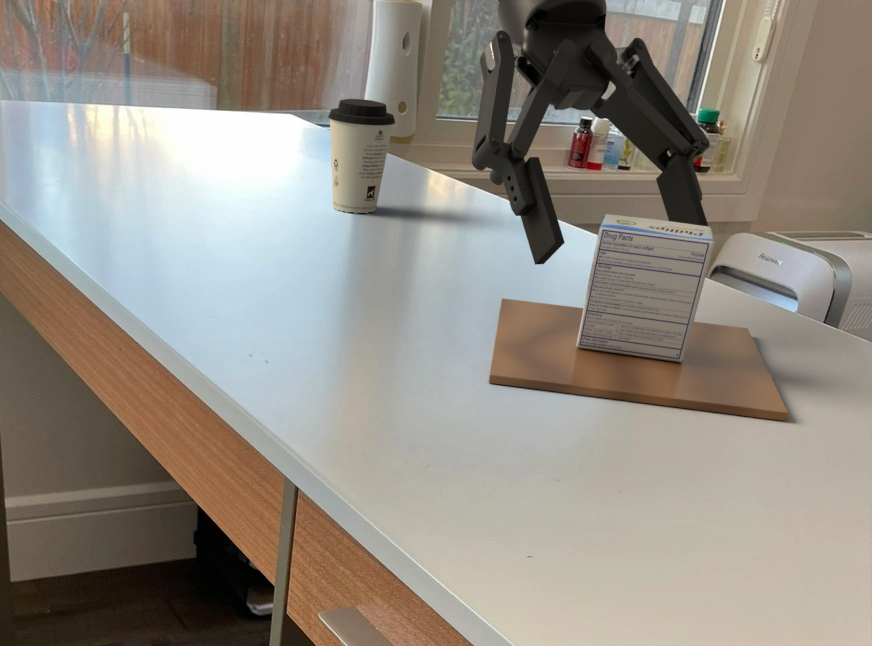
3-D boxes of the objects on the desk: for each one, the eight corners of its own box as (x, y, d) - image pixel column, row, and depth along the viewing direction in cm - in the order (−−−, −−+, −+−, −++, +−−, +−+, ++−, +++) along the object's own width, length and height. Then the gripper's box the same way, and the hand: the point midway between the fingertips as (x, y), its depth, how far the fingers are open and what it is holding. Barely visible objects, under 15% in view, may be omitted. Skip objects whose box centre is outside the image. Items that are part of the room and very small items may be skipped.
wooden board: (745, 335, 91) (747, 327, 90) (786, 421, 74) (788, 412, 74) (500, 305, 92) (501, 298, 92) (488, 383, 76) (489, 374, 76)
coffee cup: (391, 218, 117) (401, 110, 111) (324, 214, 116) (332, 105, 110) (382, 203, 122) (392, 100, 116) (319, 199, 121) (325, 95, 116)
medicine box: (682, 348, 84) (714, 226, 79) (683, 365, 81) (716, 239, 76) (578, 332, 86) (602, 211, 80) (574, 349, 82) (599, 223, 77)
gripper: (642, 31, 92) (718, 270, 90) (377, 17, 82) (456, 286, 80) (704, -42, 85) (787, 215, 83) (423, -67, 75) (510, 224, 73)
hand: (625, 250), depth 81 cm, fingers open, 13 cm apart
